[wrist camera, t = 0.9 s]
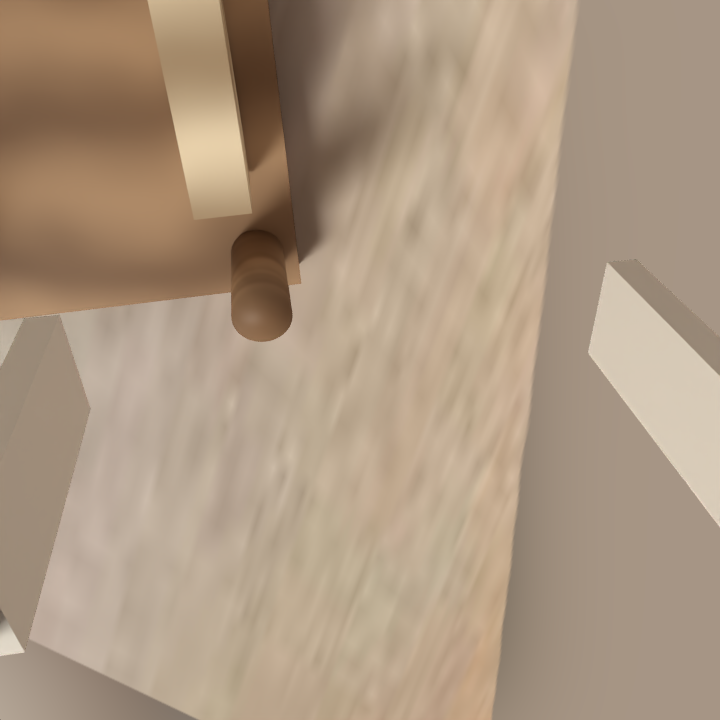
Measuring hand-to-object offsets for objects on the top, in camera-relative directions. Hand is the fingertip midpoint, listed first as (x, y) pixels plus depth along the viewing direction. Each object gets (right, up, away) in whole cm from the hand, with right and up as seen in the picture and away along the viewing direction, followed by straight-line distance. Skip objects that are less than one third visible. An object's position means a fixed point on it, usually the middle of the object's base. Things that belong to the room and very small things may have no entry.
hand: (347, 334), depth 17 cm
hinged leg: (-6, +13, +11) cm, 18 cm away
